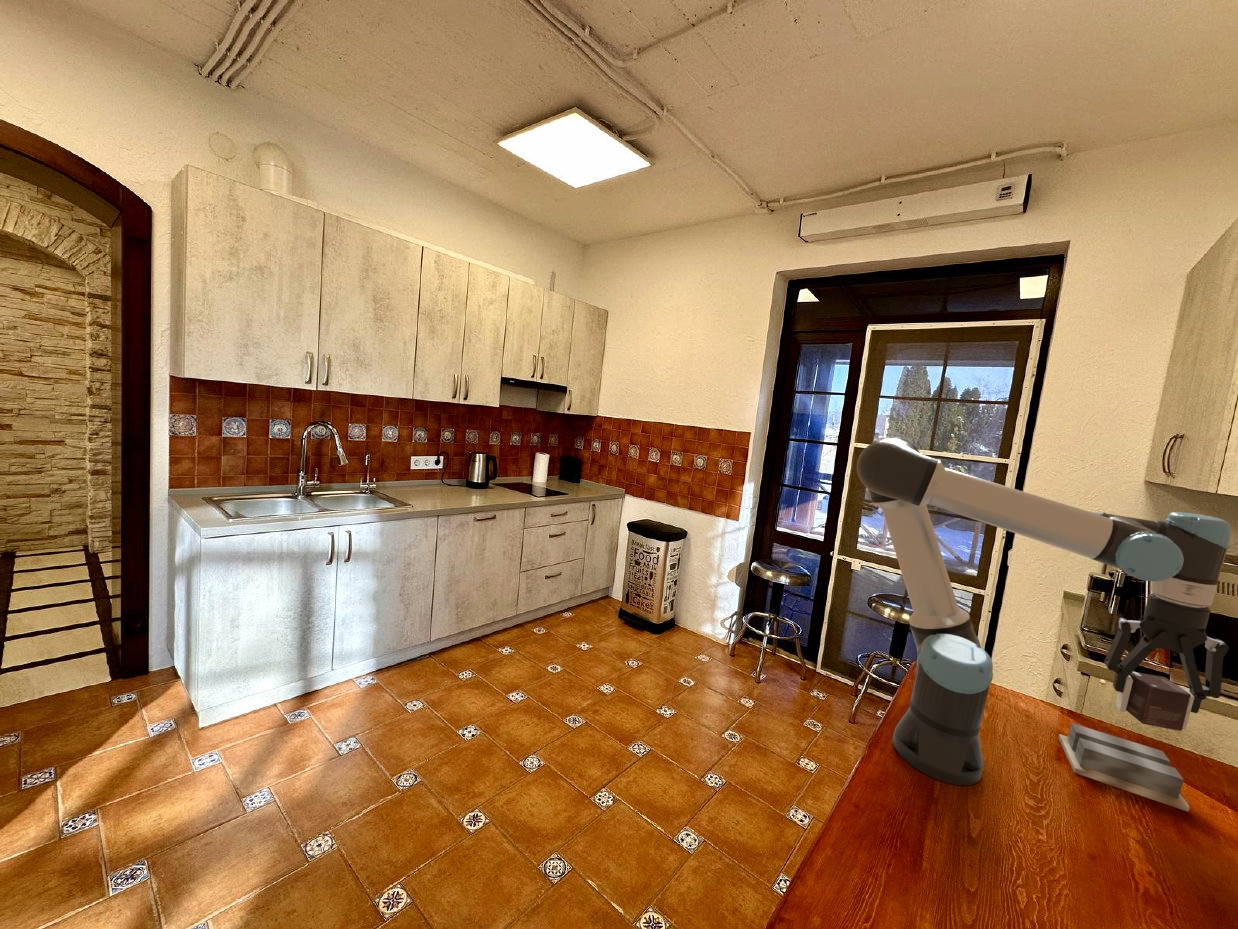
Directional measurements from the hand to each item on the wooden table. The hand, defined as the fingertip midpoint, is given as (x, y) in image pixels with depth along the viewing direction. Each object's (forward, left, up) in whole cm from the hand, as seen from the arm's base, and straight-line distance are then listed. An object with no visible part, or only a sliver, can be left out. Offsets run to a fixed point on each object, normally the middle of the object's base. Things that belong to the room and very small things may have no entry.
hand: (1149, 716), depth 93 cm
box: (0, 0, 0) cm, 0 cm away
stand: (0, +6, -15) cm, 16 cm away
